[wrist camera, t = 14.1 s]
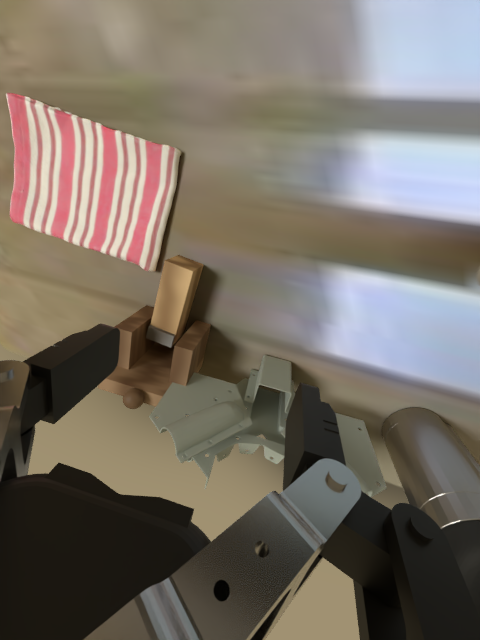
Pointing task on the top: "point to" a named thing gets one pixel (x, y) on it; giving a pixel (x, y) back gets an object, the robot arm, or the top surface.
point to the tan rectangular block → (174, 300)
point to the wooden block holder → (153, 361)
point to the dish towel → (90, 182)
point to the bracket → (251, 421)
